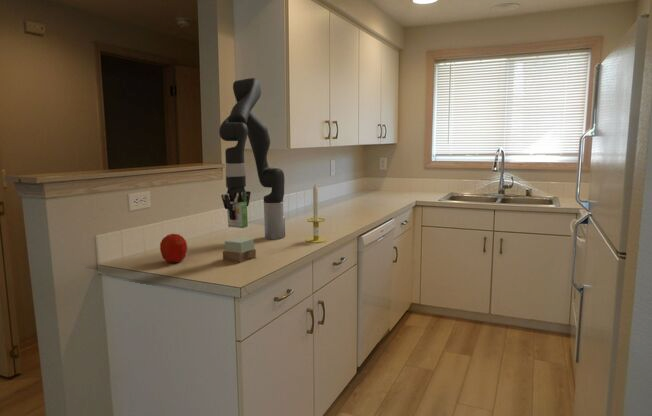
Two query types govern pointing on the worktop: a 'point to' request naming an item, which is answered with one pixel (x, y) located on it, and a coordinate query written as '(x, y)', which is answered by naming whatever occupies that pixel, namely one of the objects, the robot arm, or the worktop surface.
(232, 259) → the tower base
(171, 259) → the apple
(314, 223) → the toy syringe
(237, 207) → the ink box
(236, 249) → the tower top
